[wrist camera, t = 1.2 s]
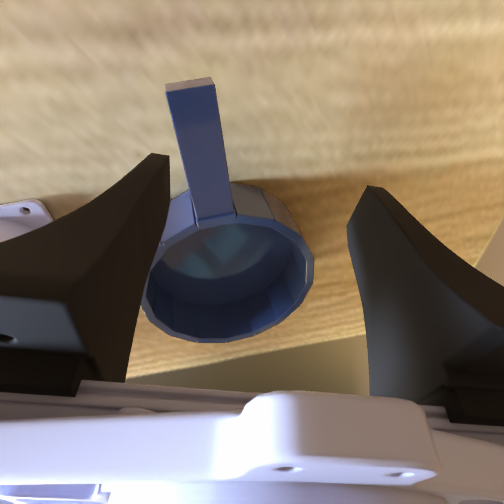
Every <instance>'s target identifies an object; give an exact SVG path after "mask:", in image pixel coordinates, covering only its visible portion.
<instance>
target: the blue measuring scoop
mask: <svg viewBox="0 0 504 504" xmlns="http://www.w3.org/2000/svg"><path fill="white" fill-rule="evenodd" d="M165 93H166V97H167V101H168V105H169V109H170V113H171V117H172V121H173V125H174V129H175V133H176V138H177V142H178V146H179V150H180V154H181V158H182V162H183V166H184V170H185V174H186V178H187V182H188V186H189V190H187V191H186V192H184V193H182V194H181V195H179V196H177V197H176V198H174V199H173V200H171V201H170V207H169V212H168V217H167V221H166V226H165V228H164V231H163V234H162V237H161V240H160V243H159V246H158V248H157V251H156V254H155V257H154V259H153V262H152V265H151V268H150V271H149V273H148V277H147V280H146V283H145V287H144V292H143V296H142V300H141V305H140V306H141V308H142V310H143V312H144V314H145V316H146V318H147V320H149V321H150V322H151V323H153V324H154V325H155V326H157V327H158V328H159V329H161V330H162V331H164V332H165V333H166V334H168V335H170V336H173V337H177V338H180V339H184V340H187V341H191V342H195V343H196V342H197V343H226V342H227V343H228V342H232V341H236V340H240V339H244V338H248V337H252V336H254V335H258V334H260V333H262V332H264V331H266V330H268V329H270V328H272V327H274V326H275V325H277V324H279V323H280V322H282V321H283V320H284V319H286V318H287V317H288V316H289V315H290V314H291V313H292V312H293V311H295V310H296V309H297V308H298V307H299V306H300V304H302V302H303V300H304V298H305V297H306V295H307V293H308V291H309V289H310V288H311V286H312V284H313V279H314V256H313V254H312V252H311V251H310V249H309V247H308V245H307V243H306V241H305V240H304V238H303V236H302V234H301V232H300V230H299V229H298V227H297V225H296V223H295V221H294V220H293V218H292V216H291V214H290V212H289V211H288V209H287V207H286V205H285V204H284V203H283V202H281V201H280V200H278V199H277V198H275V197H274V196H272V195H271V194H269V193H267V192H266V191H264V190H263V189H261V188H259V187H254V186H248V185H242V184H237V183H231V182H230V181H229V174H228V167H227V161H226V154H225V148H224V141H223V135H222V128H221V122H220V115H219V109H218V102H217V95H216V89H215V84H214V82H213V80H212V78H211V77H207V78H201V79H194V80H188V81H181V82H175V83H169V84H165Z"/></svg>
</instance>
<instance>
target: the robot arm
mask: <svg viewBox="0 0 504 504" xmlns="http://www.w3.org/2000/svg"><path fill="white" fill-rule="evenodd" d="M22 207H26V208H28V209H29V210H30V211H26V210H24V209H23V208H22ZM169 207H170V162H169V156H168V155H161V154H155V153H151V154H150V155H148V156H147V157H146V158H145V159H144V160H143V161H141V162H140V163H139V164H138V165H137V166H136V167H135V168H134V169H132V170H131V171H130V172H129V173H128V174H127V175H125V176H124V177H123V178H122V179H121V180H119V181H118V182H117V183H116V184H114V185H113V186H112V187H110V188H109V189H108V190H106V191H105V192H104V193H102V194H101V195H99V196H98V197H97V198H95V199H94V200H92V201H90V202H89V203H87V204H85V205H84V206H82V207H80V208H78V209H77V210H75V211H73V212H71V213H69V214H67V215H65V216H63V217H61V218H59V219H57V220H55V221H54V220H53V219H52V217H51V215H50V214H49V212H48V210H47V209H46V207H45V205H44V204H43V203H42V202H41V201H39V200H37V199H29V200H24V201H18V202H13V203H7V204H2V205H0V504H504V287H503V286H502V285H500V284H498V283H497V282H495V281H494V280H492V279H491V278H489V277H487V276H486V275H484V274H483V273H481V272H480V271H478V270H477V269H475V268H474V267H472V266H471V265H470V264H468V263H467V262H465V261H464V260H463V259H462V258H460V257H459V256H458V255H456V254H455V253H454V252H452V251H451V250H450V249H449V248H447V247H446V246H445V245H444V244H443V243H441V242H440V241H439V240H438V239H437V238H436V237H435V236H433V235H432V234H431V233H430V232H429V231H428V230H427V229H426V228H425V227H424V226H423V225H422V224H420V223H419V222H418V221H417V220H416V219H415V218H414V217H413V216H412V215H411V214H410V213H409V212H408V211H407V210H406V209H405V208H404V207H403V206H402V205H401V204H400V203H399V202H398V201H397V200H396V199H395V198H394V197H393V196H392V195H391V194H390V193H389V192H388V191H386V190H385V189H384V188H382V187H375V186H369V185H367V187H366V189H365V191H364V192H363V194H362V196H361V198H360V200H359V202H358V204H357V206H356V208H355V210H354V212H353V214H352V216H351V218H350V220H349V222H348V224H347V239H348V248H349V252H350V257H351V261H352V265H353V269H354V273H355V277H356V281H357V285H358V288H359V292H360V296H361V301H362V306H363V313H364V321H365V328H366V338H367V349H368V363H369V380H370V396H364V395H351V394H337V393H325V392H312V391H299V390H297V391H274V392H270V393H253V392H239V391H226V390H211V389H199V388H198V389H197V388H186V387H172V386H159V385H158V386H157V385H145V384H131V383H125V378H126V372H127V367H128V362H129V357H130V352H131V347H132V342H133V337H134V332H135V327H136V323H137V318H138V314H139V309H140V305H141V300H142V296H143V292H144V287H145V283H146V280H147V277H148V273H149V271H150V268H151V265H152V262H153V259H154V257H155V254H156V251H157V248H158V246H159V243H160V240H161V237H162V234H163V231H164V228H165V226H166V221H167V217H168V212H169Z"/></svg>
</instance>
